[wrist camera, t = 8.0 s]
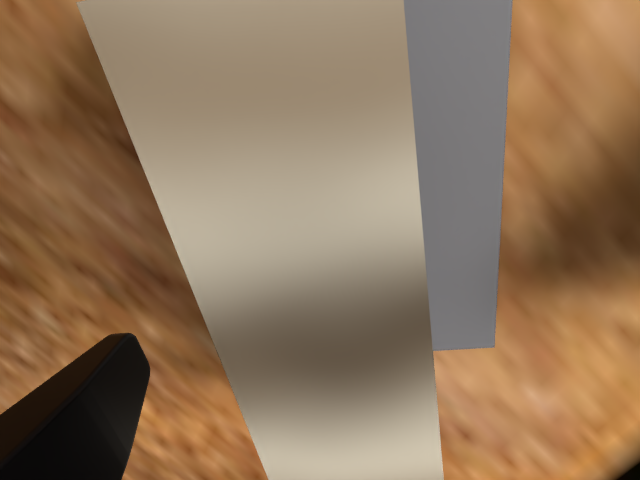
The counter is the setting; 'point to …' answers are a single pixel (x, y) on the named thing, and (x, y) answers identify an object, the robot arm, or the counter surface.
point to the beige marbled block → (291, 215)
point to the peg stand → (460, 158)
